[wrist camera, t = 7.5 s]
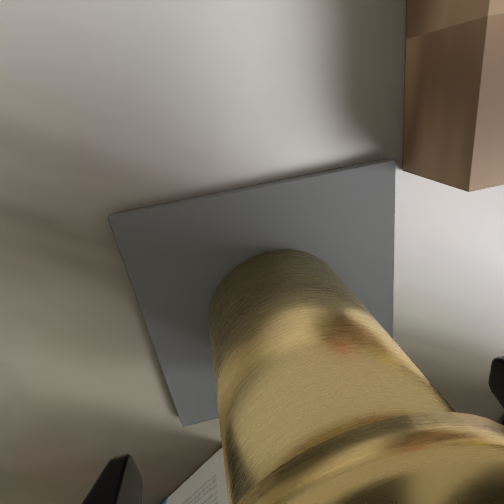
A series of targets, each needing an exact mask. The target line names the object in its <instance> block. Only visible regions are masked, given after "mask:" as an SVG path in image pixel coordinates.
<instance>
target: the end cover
mask: <svg viewBox="0 0 504 504" xmlns="http://www.w3.org/2000/svg"><path fill="white" fill-rule="evenodd" d="M208 324H209V333H210V342H211V351H212V360H213V369H214V378H215V387H216V396H217V404H218V413H219V422H220V431H221V440H222V449H223V458H224V467H225V476H226V485H227V493H228V502H229V504H504V425H502V424H500V423H498V422H496V421H494V420H491V419H489V418H485V417H481V416H477V415H474V414H466V413H457V412H455V411H454V410H453V408H452V407H451V406H450V405H449V404H448V403H447V401H446V400H445V399H444V398H443V397H442V396H441V394H440V393H439V392H438V391H437V390H436V389H435V387H434V386H433V385H432V384H431V383H430V382H429V381H428V379H427V378H426V377H425V376H424V375H423V374H422V372H421V371H420V370H419V369H418V368H417V367H416V365H415V364H414V363H413V362H412V361H411V360H410V358H409V357H408V356H407V355H406V354H405V353H404V352H403V350H402V349H401V348H400V347H399V346H398V345H397V343H396V342H395V341H394V340H393V339H392V338H391V336H390V335H389V334H388V333H387V332H386V331H385V330H384V328H383V327H382V326H381V325H380V324H379V323H378V321H377V320H376V319H375V318H374V317H373V316H372V314H371V313H370V312H369V311H368V310H367V309H366V307H365V306H364V305H363V304H362V303H361V302H360V301H359V299H358V298H357V297H356V296H355V295H354V294H353V292H352V291H351V290H350V289H349V288H348V287H347V285H346V284H345V283H344V282H343V281H342V280H341V279H340V277H339V276H338V275H337V274H336V273H335V272H334V270H333V269H332V268H331V267H330V266H329V265H328V264H327V263H326V262H324V261H323V260H321V259H320V258H318V257H316V256H314V255H312V254H309V253H306V252H302V251H298V250H274V251H269V252H265V253H261V254H258V255H256V256H253V257H251V258H249V259H247V260H245V261H243V262H242V263H240V264H239V265H237V266H236V267H235V268H234V269H232V270H231V271H230V272H229V273H228V274H227V275H226V276H225V277H224V278H223V280H222V281H221V282H220V284H219V285H218V287H217V288H216V290H215V292H214V294H213V296H212V299H211V302H210V305H209V311H208Z"/></svg>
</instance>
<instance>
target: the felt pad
mask: <svg viewBox="0 0 504 504" xmlns="http://www.w3.org/2000/svg"><path fill="white" fill-rule="evenodd" d="M394 214H395V160H393V159H390V158H388V159H383V160H378V161H373V162H368V163H363V164H358V165H353V166H348V167H343V168H338V169H333V170H328V171H323V172H318V173H313V174H308V175H303V176H298V177H294V178H289V179H284V180H279V181H274V182H269V183H264V184H259V185H254V186H249V187H244V188H239V189H234V190H229V191H224V192H219V193H214V194H209V195H204V196H199V197H195V198H190V199H185V200H180V201H175V202H170V203H165V204H160V205H155V206H150V207H145V208H140V209H135V210H130V211H125V212H120V213H115V214H111V215H110V216H109V218H108V220H109V223H110V226H111V228H112V231H113V234H114V237H115V240H116V242H117V245H118V248H119V251H120V254H121V256H122V259H123V262H124V265H125V268H126V270H127V273H128V276H129V279H130V282H131V284H132V287H133V290H134V293H135V295H136V298H137V301H138V304H139V307H140V309H141V312H142V315H143V318H144V321H145V323H146V326H147V329H148V332H149V335H150V337H151V340H152V343H153V346H154V349H155V351H156V354H157V357H158V360H159V363H160V365H161V368H162V371H163V374H164V377H165V379H166V382H167V385H168V388H169V391H170V393H171V396H172V399H173V402H174V404H175V407H176V410H177V413H178V416H179V418H180V421H181V424H182V427H184V426H188V425H192V424H196V423H200V422H204V421H208V420H211V419H215V418H219V413H218V404H217V396H216V387H215V378H214V369H213V360H212V351H211V342H210V333H209V324H208V311H209V305H210V302H211V299H212V296H213V294H214V292H215V290H216V288H217V287H218V285H219V284H220V282H221V281H222V280H223V278H224V277H225V276H226V275H227V274H228V273H229V272H230V271H231V270H232V269H234V268H235V267H236V266H237V265H239V264H240V263H242V262H243V261H245V260H247V259H249V258H251V257H253V256H256V255H258V254H261V253H265V252H269V251H274V250H298V251H302V252H306V253H309V254H312V255H314V256H316V257H318V258H320V259H321V260H323V261H324V262H326V263H327V264H328V265H329V266H330V267H331V268H332V269H333V270H334V272H335V273H336V274H337V275H338V276H339V277H340V279H341V280H342V281H343V282H344V283H345V284H346V285H347V287H348V288H349V289H350V290H351V291H352V292H353V294H354V295H355V296H356V297H357V298H358V299H359V301H360V302H361V303H362V304H363V305H364V306H365V307H366V309H367V310H368V311H369V312H370V313H371V314H372V316H373V317H374V318H375V319H376V320H377V321H378V323H379V324H380V325H381V326H382V327H383V328H384V330H385V331H386V332H387V333H388V334H389V335H390V336H391V338H392V339H393V277H394Z"/></svg>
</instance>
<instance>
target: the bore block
mask: <svg viewBox="0 0 504 504" xmlns="http://www.w3.org/2000/svg"><path fill="white" fill-rule="evenodd" d="M403 171H406V172H409V173H412V174H415V175H418V176H421V177H424V178H427V179H430V180H434V181H437V182H440V183H443V184H446V185H449V186H452V187H455V188H458V189H461V190H465V191H468V192H470V191H475V190H480V189H484V188H489V187H494V186H498V185H503V184H504V0H407V19H406V59H405V98H404V138H403Z"/></svg>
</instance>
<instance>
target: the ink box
mask: <svg viewBox="0 0 504 504" xmlns="http://www.w3.org/2000/svg"><path fill="white" fill-rule="evenodd" d="M162 504H229V502H228V493H227V485H226V476H225V467H224V458H223V449H222V448H220V449H219V450H218V451H217V452H216V453H215V454H214V455H213V456H212V457H211V458H209V459H208V460H207V461H206V462H205V463H204V464H203V465H202V466H201V467H200V468H199V469H198V470H197V471H196V472H195V473H194V474H192V475H191V476H190V477H189V478H188V479H187V480H186V481H185V482H184V483H183V484H182V485H181V486H180V487H179V488H178V489H177V490H176V491H175V492H173V493H172V494H171V495H170V496H169V497H168V498H167V499H166V500H165V501H164V502H163V503H162Z"/></svg>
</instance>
